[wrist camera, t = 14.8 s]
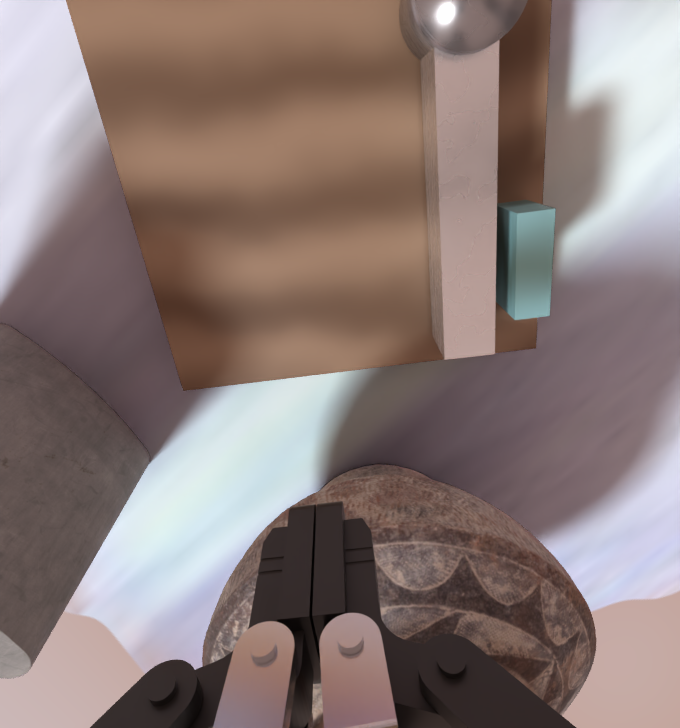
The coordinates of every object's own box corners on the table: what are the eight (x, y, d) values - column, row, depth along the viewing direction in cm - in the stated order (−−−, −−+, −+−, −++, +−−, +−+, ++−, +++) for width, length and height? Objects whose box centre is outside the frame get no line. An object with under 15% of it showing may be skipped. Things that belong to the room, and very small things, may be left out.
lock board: (89, 4, 27) (11, -40, 21) (532, -67, 26) (599, -137, 20) (194, 372, 37) (163, 422, 31) (520, 332, 36) (562, 375, 30)
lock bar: (395, -42, 24) (410, -87, 19) (496, -57, 24) (536, -106, 19) (417, 337, 33) (431, 370, 28) (491, 328, 32) (518, 360, 28)
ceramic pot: (296, 354, 37) (241, 660, 15) (573, 453, 41) (843, 805, 19) (208, 576, 46) (98, 957, 25) (439, 638, 50) (519, 1012, 29)
